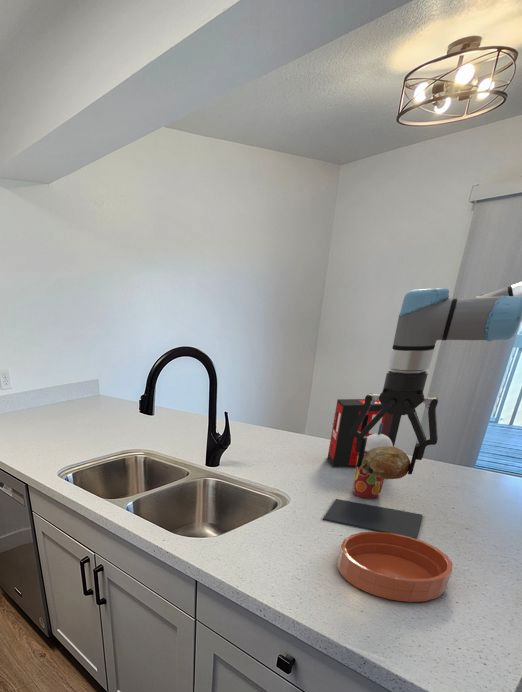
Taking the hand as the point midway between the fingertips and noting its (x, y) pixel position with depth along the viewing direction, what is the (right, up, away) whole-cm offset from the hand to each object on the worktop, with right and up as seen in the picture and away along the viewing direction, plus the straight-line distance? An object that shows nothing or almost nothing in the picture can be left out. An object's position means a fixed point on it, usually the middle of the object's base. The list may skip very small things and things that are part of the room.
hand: (384, 468), depth 103 cm
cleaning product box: (+16, +7, +41) cm, 45 cm away
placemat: (+1, -12, +6) cm, 13 cm away
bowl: (-9, -23, -16) cm, 30 cm away
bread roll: (0, -1, 0) cm, 1 cm away
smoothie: (+7, -5, +19) cm, 21 cm away
